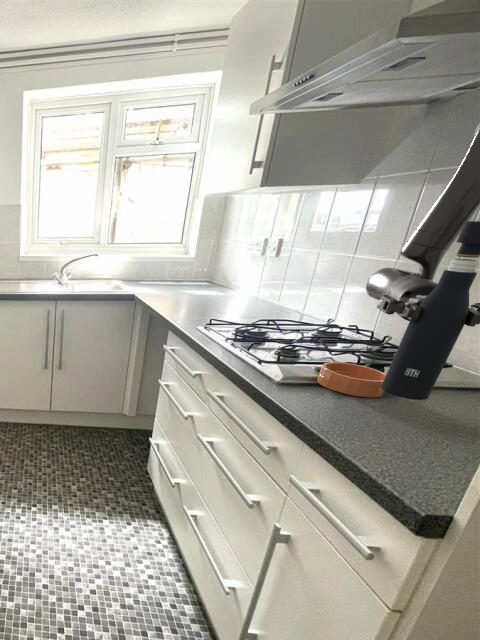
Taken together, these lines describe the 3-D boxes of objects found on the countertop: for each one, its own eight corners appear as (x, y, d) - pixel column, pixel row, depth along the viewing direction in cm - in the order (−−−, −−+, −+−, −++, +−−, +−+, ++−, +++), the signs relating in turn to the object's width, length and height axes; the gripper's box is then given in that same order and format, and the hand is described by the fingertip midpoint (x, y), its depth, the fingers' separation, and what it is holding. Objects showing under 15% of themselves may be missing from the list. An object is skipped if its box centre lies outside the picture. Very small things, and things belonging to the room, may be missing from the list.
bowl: (339, 376, 108) (345, 360, 106) (395, 395, 97) (403, 378, 95) (304, 381, 104) (310, 364, 102) (358, 402, 94) (366, 383, 92)
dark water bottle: (412, 387, 80) (492, 221, 68) (437, 401, 74) (528, 222, 62) (372, 384, 82) (443, 220, 69) (393, 397, 76) (474, 222, 64)
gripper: (377, 276, 85) (396, 290, 72) (479, 284, 78) (520, 300, 65) (362, 312, 88) (379, 332, 75) (459, 322, 81) (496, 346, 68)
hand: (444, 317), depth 70 cm, fingers closed on dark water bottle, 6 cm apart
